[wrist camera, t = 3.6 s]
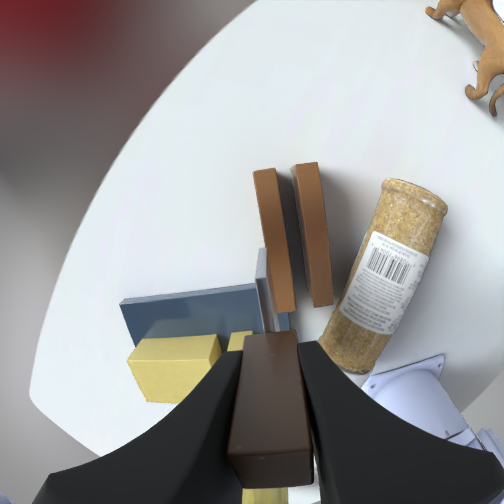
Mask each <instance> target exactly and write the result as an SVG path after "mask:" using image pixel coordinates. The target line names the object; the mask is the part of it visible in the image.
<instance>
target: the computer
mask: <svg viewBox="0 0 504 504" xmlns="http://www.w3.org/2000/svg"><path fill="white" fill-rule="evenodd" d="M493 6H494V9H495V10H496V12H497V13H498V14H499V16H500V17H501V18H502V20H503V21H504V0H493Z"/></svg>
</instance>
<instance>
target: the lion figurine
mask: <svg viewBox="0 0 504 504" xmlns="http://www.w3.org/2000/svg"><path fill="white" fill-rule="evenodd" d="M426 13H427V14H428V15H429V16H430V17H432V18H434V19H441V18H443V16H444V15H445V14H446V15H448V16H449V17H453V16H456V15H457V14H459V13H461V15H462V17H463V19H464V21H465V23H466V24H467V26H468V28H469V29H470V31H471V32H472V34H473V35H474V36H475V37H476V38H477V40H478V41H480V42H481V43H482V44H483V45H484V46H485V48H484V51H483V52H482V54H481V57H480V60H479V61H476V60H475V61H474V63H473V64H474V67H475V69H476V70H477V71H478V76H477V87H476V90H475V88H474V87H473V86H471V85H467V86H466V87H465V92H466V95H467V96H468V97H469V98H470V99H472V100H478V99H480V98H482V97H483V96H485V95H486V94H487V93H488V89H489V85H490V83H491V81H492V80H493V78H494V77H495V76H497V75H499V74H504V25H503V24H502V22H501V21H500V19H499V17H498V15H497V13H496V12H495V10H494V6H493V0H440V1H439V3H438V6H437V9H436V10H435V9H434V8H431V7H429V6H428V7H427V8H426ZM503 94H504V83H503V84H502V85H501V86H500V87H499V88H498V89H497V90H496V91H495V93H494V94H493V95H492V97H491V99H490V103H489V111H490V113H491V114H492V116H493V117H496V116H497V113H496V108H495V102H496V100H497V99H498V98H499V97H500V96H502V95H503Z"/></svg>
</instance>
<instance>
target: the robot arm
mask: <svg viewBox="0 0 504 504" xmlns="http://www.w3.org/2000/svg"><path fill="white" fill-rule="evenodd" d="M297 346H298V353H299V359H300V364H301V368H302V371H303V376H304V383H305V389H306V396H307V403H308V410H309V417H310V425H311V432H312V440H313V448H314V456H315V460H316V465H317V471H318V477H319V486H320V497H321V504H504V447H503V445H502V444H501V442H500V441H499V439H498V438H497V436H496V435H495V433H494V432H493V431H492V430H491V429H486V430H485V429H483V428H482V429H481V430H480V431H478V433H477V434H478V436H479V438H480V440H481V441H482V442H481V443H482V444H483V446H484V448H485V449H484V448H483V446H482V444H481V443H480V441H479V439H478V438H477V436H476V435H475V434H474V432H473V431H472V429H471V428H470V427H469V426H468V424H467V423H466V421H465V420H464V418H463V417H462V415H461V414H460V412H459V411H458V409H457V408H456V406H455V405H454V403H453V402H452V400H451V399H450V397H449V396H448V394H447V393H446V391H445V390H444V389H443V387H442V386H441V384H440V383H439V379H440V375H441V372H442V368H443V364H444V360H445V357H444V356H443V355H439V356H436V357H433V358H430V359H428V360H425V361H422V362H419V363H416V364H413V365H409V366H406V367H403V368H400V369H396V370H393V371H389V372H386V373H382V374H378V375H374V376H371V377H370V378H369V379H368V380H367V388H366V393H365V392H364V391H363V390H362V389H360V388H359V387H358V386H357V385H356V384H355V383H354V382H353V381H352V380H351V379H350V378H349V377H348V376H347V375H346V374H345V373H344V372H343V371H342V370H341V369H340V368H339V367H338V366H337V365H336V364H335V363H334V362H333V360H332V359H331V358H330V357H329V356H328V354H327V353H326V352H325V351H324V349H323V348H322V346H321V345H320V343H319V342H317V341H310V342H303V343H297ZM241 357H242V350H236V351H224V353H223V354H222V355H221V356H220V357H219V359H218V360H217V361H216V362H215V364H214V365H213V366H212V367H211V369H210V370H209V371H208V372H207V373H206V375H205V376H204V377H203V378H202V379H201V381H200V382H199V383H198V384H197V385H196V386H195V387H194V389H193V390H192V391H191V392H190V393H189V394H188V395H187V396H186V397H185V398H184V399H183V400H182V401H181V402H180V403H179V404H178V405H177V406H176V407H175V408H174V409H173V410H172V411H171V412H170V413H169V414H168V415H166V416H165V417H164V418H163V419H162V420H160V421H159V422H158V423H157V424H155V425H154V426H153V427H151V428H150V429H149V430H147V431H146V432H145V433H143V434H141V435H140V436H138V437H137V438H135V439H133V440H132V441H130V442H129V443H127V444H125V445H124V446H122V447H120V448H119V449H117V450H115V451H113V452H111V453H109V454H107V455H105V456H102V457H100V458H98V459H95V460H93V461H91V462H88V463H85V464H83V465H80V466H77V467H73V468H70V469H67V470H63V471H59V472H56V473H51V474H50V475H49V476H48V478H47V479H46V481H45V483H44V484H43V486H42V487H41V489H40V491H39V493H38V494H37V496H36V497H35V499H34V501H33V503H32V504H242V494H243V488H242V486H241V484H240V482H239V480H238V478H237V476H236V474H235V472H234V470H233V468H232V466H231V464H230V462H229V460H228V458H227V456H226V447H227V441H228V435H229V428H230V422H231V416H232V410H233V404H234V398H235V392H236V385H237V379H238V374H239V369H240V363H241ZM373 384H374V385H373ZM485 450H486V451H485ZM0 504H15V503H13V502H12V501H11V500H10V499H9V498H7V497H6V496H5V495H4V494H3V493H2V492H0Z"/></svg>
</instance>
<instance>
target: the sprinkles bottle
mask: <svg viewBox="0 0 504 504" xmlns="http://www.w3.org/2000/svg"><path fill="white" fill-rule="evenodd" d="M447 211H448V207H447V205H446V204H445V202H444V201H442V200H441V199H440V198H439V197H438V196H436V195H434V194H433V193H431V192H430V191H428V190H426V189H425V188H423V187H420V186H417V185H415V184H412V183H409V182H406V181H403V180H400V179H386V180H384V181H383V183H382V194H381V196H380V199H379V201H378V204H377V208H376V210H375V213H374V216H373V219H372V221H371V224H370V227H369V229H368V230H367V231H366V234H365V236H364V239H363V242H362V244H361V247H360V249H359V252H358V254H357V257H356V259H355V261H354V264H353V266H352V269H351V271H350V274H349V279H348V281H347V283H346V285H345V287H344V290H343V292H342V294H341V296H340V299H339V301H338V303H337V305H336V307H335V310H334V311H333V313H332V317H331V318H330V320H329V322H328V325H327V327H326V329H325V331H324V333H323V335H322V336H321V337H320V338H319V339H318V340H317V342H319V343H320V345H321V346H322V348H323V349H324V351H325V352H326V353H327V354H328V356H329V357H330V358H331V359H332V360H333V362H334V363H335V364H336V365H337V366H338V367H339V368H340V369H341V370H342V371H343V372H344V373H345V374H346V375H347V376H348V377H349V378H350V379H351V380H352V381H353V382H354V383H355V384H356V385H357V386H358V387H359V388H361V387H362V386H363V384H364V383H365V382H366V380H367V379H368V377H369V376H370V374H371V373H372V371H373V367H374V365H375V362H376V360H377V359H378V357H379V355H380V354H381V352H382V350H383V349H384V347H385V346H386V344H387V342H388V340H389V339H390V337H391V335H392V333H394V331H395V330H396V328H397V326H398V324H399V322H400V320H401V318H402V317H403V315H404V313H405V311H406V309H407V307H408V305H409V303H410V301H411V299H412V297H413V295H414V293H415V290H416V288H417V286H418V284H419V282H420V280H421V277H422V275H423V273H424V270H425V268H426V266H427V263H428V261H429V258H430V253H431V251H432V248H433V245H434V243H435V240H436V238H437V234H438V231H439V229H440V226H441V224H442V221H443V218H444V216H445V215H446V214H447Z"/></svg>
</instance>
